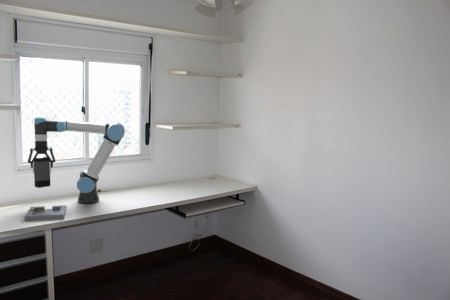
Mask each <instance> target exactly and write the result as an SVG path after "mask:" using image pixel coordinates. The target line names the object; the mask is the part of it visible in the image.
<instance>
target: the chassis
mask: <svg viewBox="0 0 450 300" xmlns="http://www.w3.org/2000/svg"><path fill="white" fill-rule="evenodd" d="M45 207H46V206H44V205H41V206H40V205H39V206H30V207H29V209H28V211H27V213H26V214H25V216H24V222H36V221H37V222H39V221H52V220H65V215H66V213H67V205H66V204H65V205H64V204H63V205H52V206H51V207H52V208H45Z"/></svg>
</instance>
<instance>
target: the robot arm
mask: <svg viewBox="0 0 450 300" xmlns="http://www.w3.org/2000/svg"><path fill="white" fill-rule="evenodd" d="M33 124H34V125H33V126H34V127H33V128H34V140H35V141H34V148H32V147H30V148H29V156H28V159H27V163H28V164H30V169H32V174H34V158H38V156H39V155H45V157H47V158H48V160H49V161H50V163H49V167H50V174H51V173H52V169H53V168H54V167H53V166H54V163H56V157H55V155H54V152H53V147H48V132H49V133H51V132H52V133H54V132H55V133H65V132H77V133H85V134H86V133H89V134H99V135H103V136H102V138H103V141H102V143H101V145H100V146H99V149H98V150H97V151H96V154H94V157H93V159H91V162H90V164H89V166H88V168H87V169H85V170H82V171H80V172H79V178H78V180H77V183H76V188H77V190H78V191H79V194H78V196H77V203H79V204H83V205H90V204H96V203H99V202H100V197H99V194H98V191H97V190H98V187H97V183H98V181H99V180H100V176H99V175H100V173H101V172H102V170H103V168H104V167H105V164H106V163H107V161H108V159H109V157H110V155H111V154H112V152H113V150H114V149H115V147H117V146H119V144H120V143H121V141H122V140H123V138H124V136H125V130H126V129H125V127H124V125H123V124H122V123H120V122H104V123H98V122H86V121H76V120H66V119H65V120H64V119H57V120H48V119H47V117H36V118H34V123H33ZM34 151H35V152H36V153H35V155H34V156H33V154H34V153H33V152H34ZM48 152H49V153H50V155H49V154H48ZM32 156H33V158H32Z"/></svg>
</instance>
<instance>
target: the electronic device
mask: <svg viewBox="0 0 450 300" xmlns="http://www.w3.org/2000/svg"><path fill="white" fill-rule="evenodd" d="M33 158H34V157H33ZM33 163H34V173H33V175H34V176H33V177H34V187H35V188H37V189H41V188H47V187H51V173H50V167H49V163H50V161H49V160H48V158H47V157H46V156H43V157H36V158H34V162H33Z"/></svg>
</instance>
